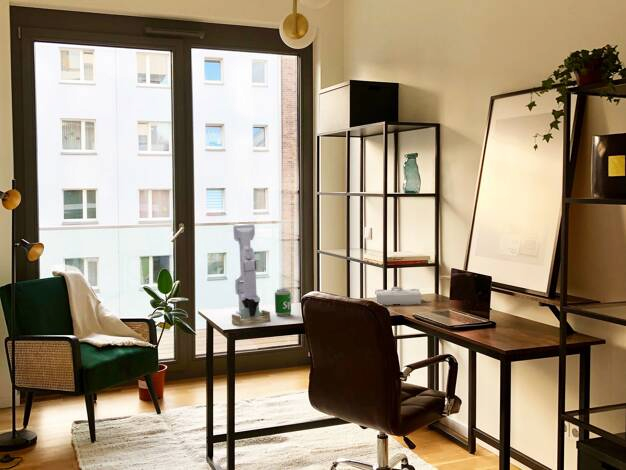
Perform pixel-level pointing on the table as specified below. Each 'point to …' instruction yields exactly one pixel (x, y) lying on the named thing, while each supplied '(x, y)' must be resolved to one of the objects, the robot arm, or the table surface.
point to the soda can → (283, 302)
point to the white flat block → (398, 296)
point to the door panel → (248, 313)
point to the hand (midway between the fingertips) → (250, 315)
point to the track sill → (262, 318)
